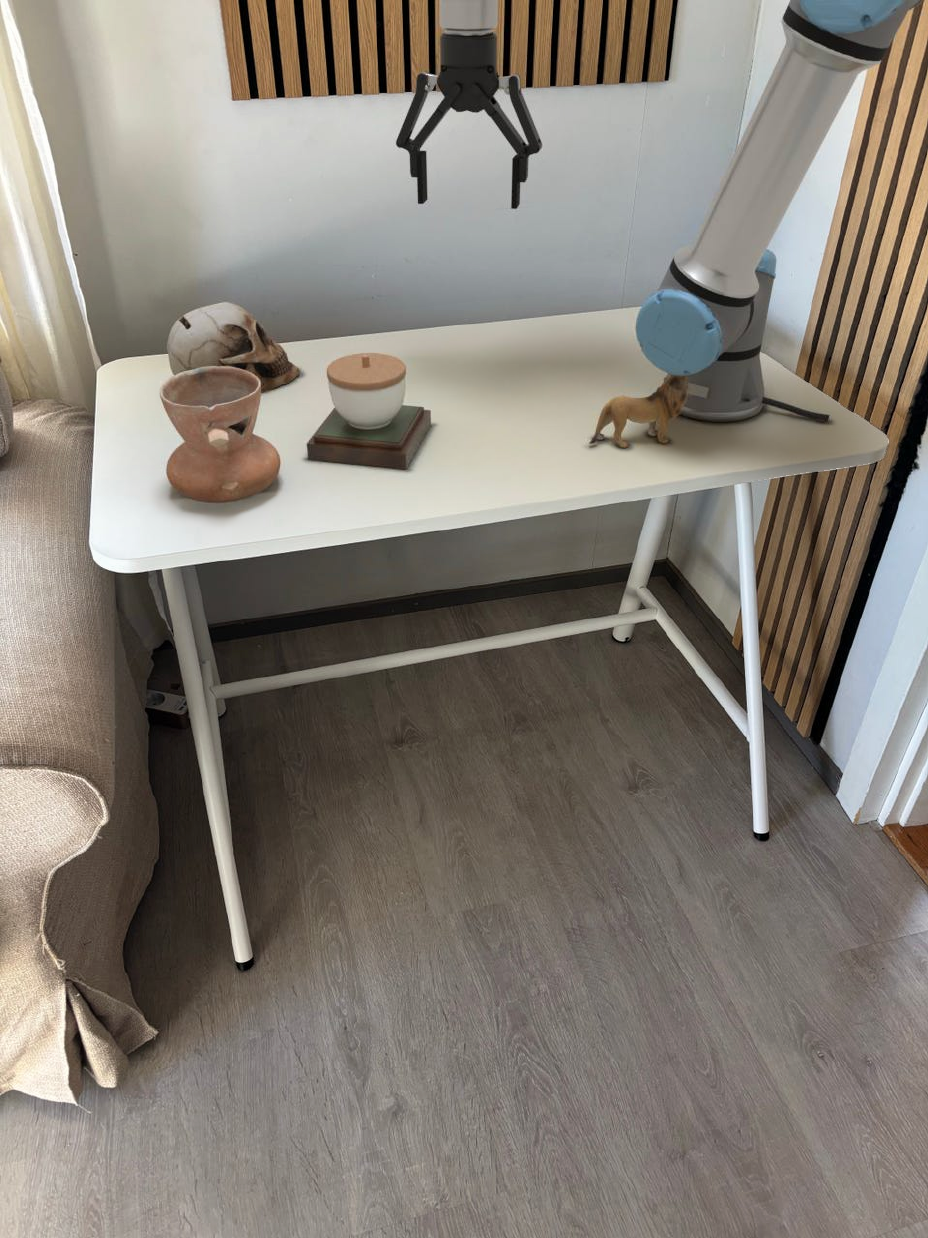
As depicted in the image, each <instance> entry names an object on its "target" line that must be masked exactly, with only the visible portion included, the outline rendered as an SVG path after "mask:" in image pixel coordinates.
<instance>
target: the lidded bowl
mask: <svg viewBox="0 0 928 1238" xmlns="http://www.w3.org/2000/svg"><path fill="white" fill-rule="evenodd" d="M406 375H407V367H406V364H405V362H403V360H401V359H400V358H398V357H396V356H393V355H390V354H385V353H380V352H379V353H378V352H376V353H375V352H362V353H352V354H349V355H344V356H341V357H339V358H336V359H335V360H332V361H331V362H330V363H329V365H327V368H326V377H327V381H328V391H329V395H330V398H331V401H332V404H333V407H334V408H336V410H337V412H338V413H339V414H340V415H341V416H342V417H343V418H344V419H345V420H346V421H348V423H349V424H350V425H351V426H352V427H355V428H358V429H364V430H371V429H378V428H382V427H385V426H387V425H388V424H389V423H390V422H391V420H392V419H393V418H394V417H395V416H396V414H397V413H398V412H399V410H400V409H401V406H402V405H404V404H403V403H404V401H405V395H406Z"/></svg>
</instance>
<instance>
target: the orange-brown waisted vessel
mask: <svg viewBox="0 0 928 1238" xmlns="http://www.w3.org/2000/svg"><path fill="white" fill-rule="evenodd" d="M261 396H262V391H261V382H260V380H259V378H258V377H257V376H255V375H254V374H252V373H251V372H248V371H246V370H242V369H239V368H235V367H229V366H220V367H217V366H207V367H200V368H197V369H193V370H189V371H184V372H181V373H179V374H177V375H175V376H174V375H173V376H171V377H169V378H168V379H166V380H165V381H164V382H163V383H162V384H161V386H160V388H159V397H160V401H161V403H162V406H163V409H164V410H165V412H166V414H167V417H168V418H169V421H170V422H171V424H172V426H173V427H174V429H175V430H176V431H177V433H178V435H179V436H180V437H181V439H182V440H183V442H182V443H180V445H178V447H176V448H175V449H174V450H173V451H172V453H171V454H170V456H169V458H168V459H167V461H166V462H167V463H166V467H165V472H166V477H167V480H168V482H169V483H170V485H171V486H172V488H173V489H174V490H175V491H177V492H178V493H179V494H181V495H182V496H184V497H185V498H188V499H190V500H193V501H195V502H200V503H207V504H225V503H226V504H227V503H234V502H238V501H243V500H245V499H249V498H251V497H254V496H256V495H258V494H260V493H261V492H263V491H265V490H266V489H267V488H269V487H270V486H271V485H272V484H273V483H274V482H275V480H276V478H277V477H278V476H279V472H280V469H281V462H282V461H281V457H280V454H279V451H278V450H277V448H276V447H275V446H274V445H273V444H272V443H271V442H270V441H268V440H267V439H265V438H264V437H261V436H259V435H257V434H255V433H253V432H254V429H255V426H256V423H257V419H258V414H259V409H260V405H261Z"/></svg>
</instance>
